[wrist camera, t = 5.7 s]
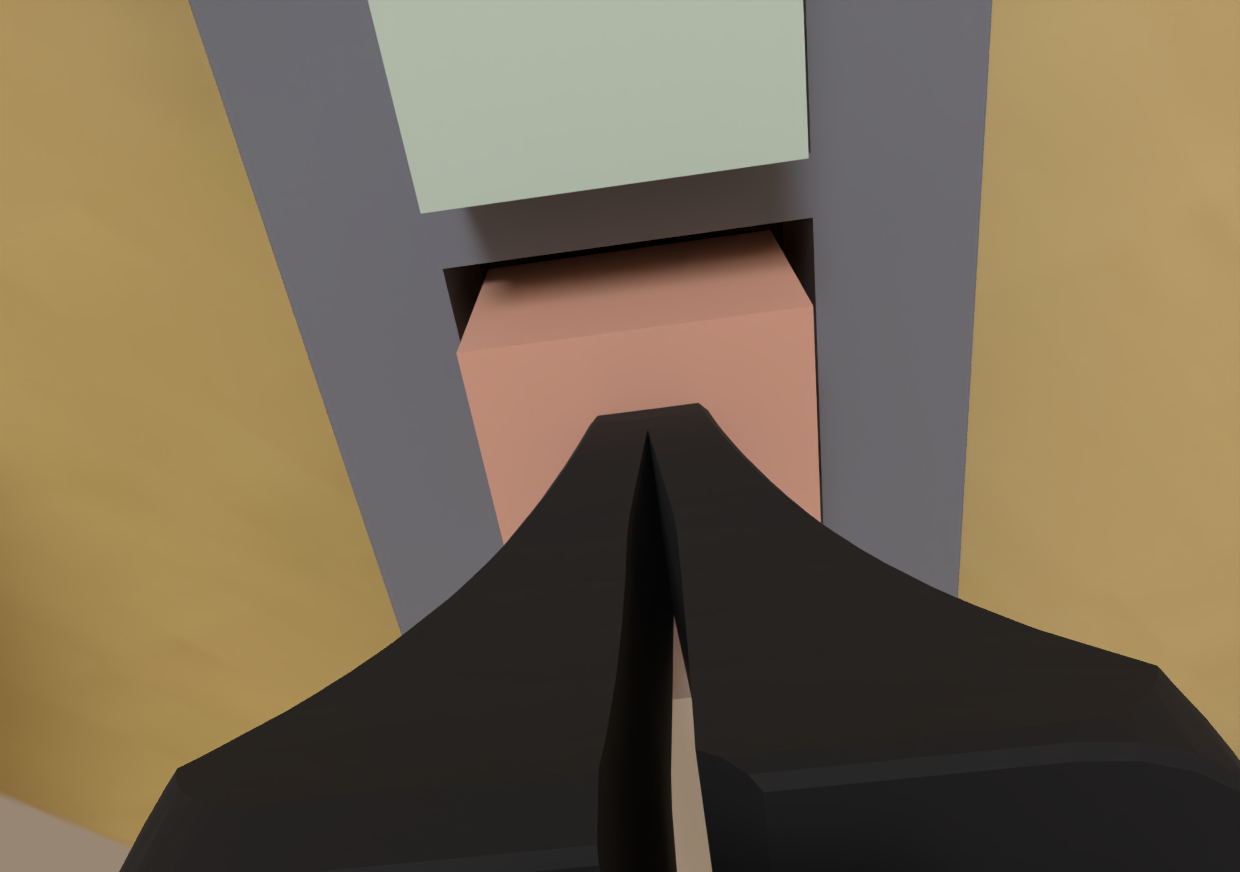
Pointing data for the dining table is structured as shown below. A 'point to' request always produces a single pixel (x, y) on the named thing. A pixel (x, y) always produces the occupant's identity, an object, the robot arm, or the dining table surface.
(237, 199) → the dining table surface
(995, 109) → the dining table surface
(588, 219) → the keypad board
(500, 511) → the key terracotta
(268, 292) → the dining table surface
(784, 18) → the key sage
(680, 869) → the key ivory
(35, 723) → the dining table surface
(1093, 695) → the robot arm
